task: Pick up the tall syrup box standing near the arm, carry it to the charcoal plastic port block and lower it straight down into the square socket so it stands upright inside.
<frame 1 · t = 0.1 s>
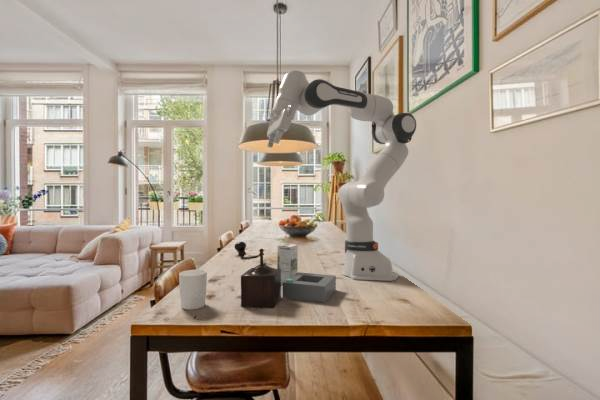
hand: (272, 145, 117), 52 cm above the table, tool tilted 20°, fingers open, 8 cm apart
port block: (310, 293, 104), on the table
syrup box: (287, 283, 117), on the table
white cup: (193, 306, 93), on the table
manual coffee grinder: (254, 301, 97), on the table
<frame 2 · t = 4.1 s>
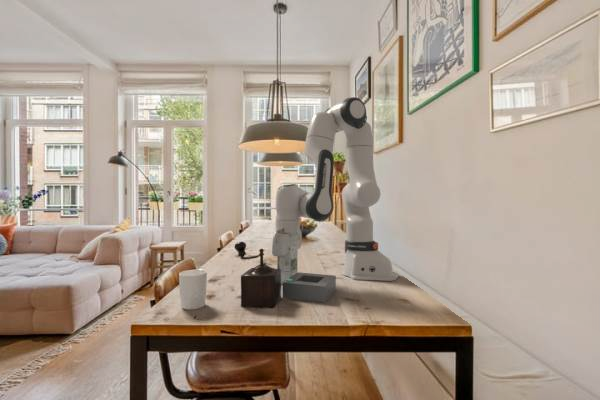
hand: (287, 264, 117), 7 cm above the table, tool pointing down, fingers closed on syrup box, 6 cm apart
syrup box: (287, 283, 117), on the table, touching gripper
everything else where it was.
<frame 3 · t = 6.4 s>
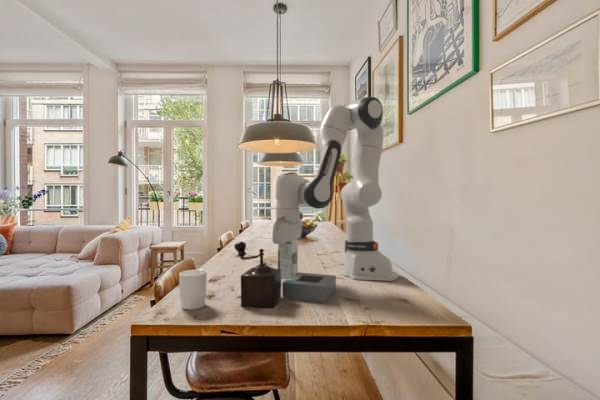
hand: (288, 252, 117), 11 cm above the table, tool pointing down, fingers closed on syrup box, 6 cm apart
syrup box: (287, 278, 117), point 2 cm above the table, touching gripper
everything else where it was.
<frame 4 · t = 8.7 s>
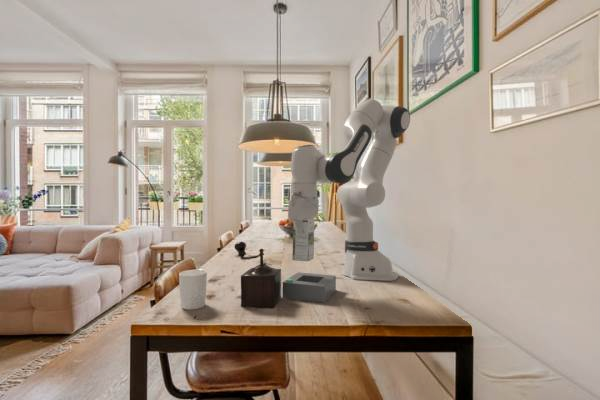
hand: (304, 232, 107), 20 cm above the table, tool pointing down, fingers closed on syrup box, 6 cm apart
syrup box: (303, 260, 107), point 11 cm above the table, touching gripper
everything else where it was.
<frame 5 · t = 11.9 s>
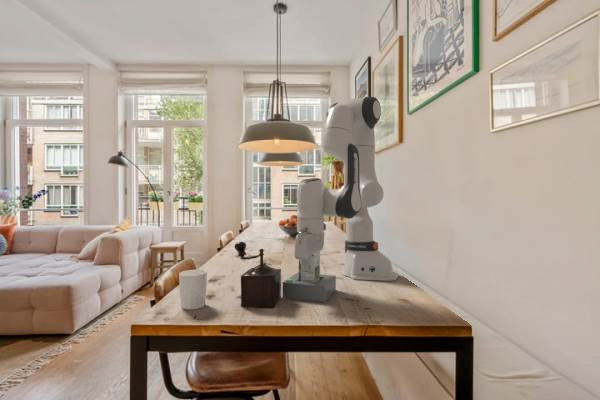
hand: (309, 268, 104), 9 cm above the table, tool pointing down, fingers closed on syrup box, 6 cm apart
syrup box: (309, 294, 104), resting in port block, touching gripper
everything else where it was.
when the fingers open (8 cm above the table, at t = 13.0 s): syrup box stays where it is, resting in port block.
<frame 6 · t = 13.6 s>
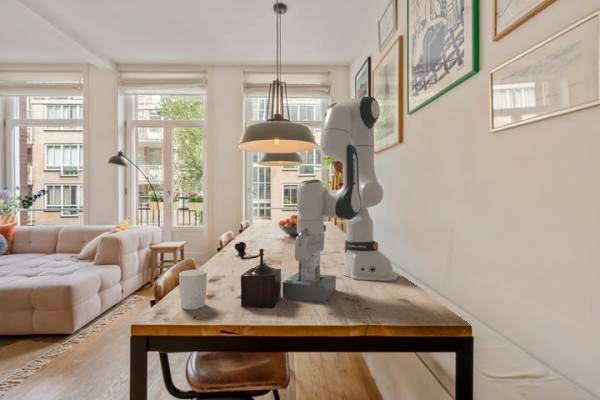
hand: (310, 269, 104), 8 cm above the table, tool pointing down, fingers open, 8 cm apart
syrup box: (309, 294, 104), resting in port block
everything else where it was.
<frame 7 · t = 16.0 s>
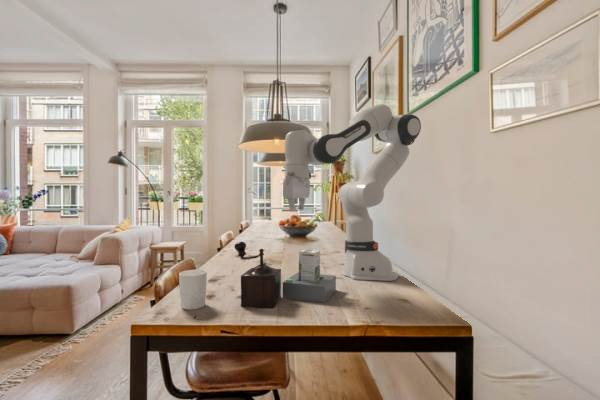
hand: (297, 210, 116), 27 cm above the table, tool pointing down, fingers open, 8 cm apart
nothing on the table moved.
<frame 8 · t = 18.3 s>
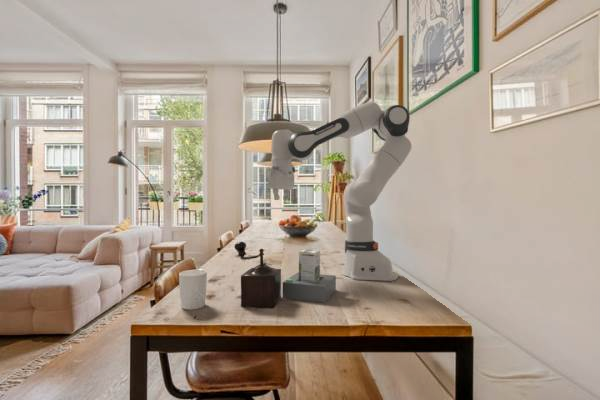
hand: (281, 199, 134), 31 cm above the table, tool pointing down, fingers open, 8 cm apart
nothing on the table moved.
at the end: syrup box 0.3 cm off-centre on the port block, point 0.0 cm above the port block's base; syrup box tilted 0°; the gripper is holding nothing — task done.
